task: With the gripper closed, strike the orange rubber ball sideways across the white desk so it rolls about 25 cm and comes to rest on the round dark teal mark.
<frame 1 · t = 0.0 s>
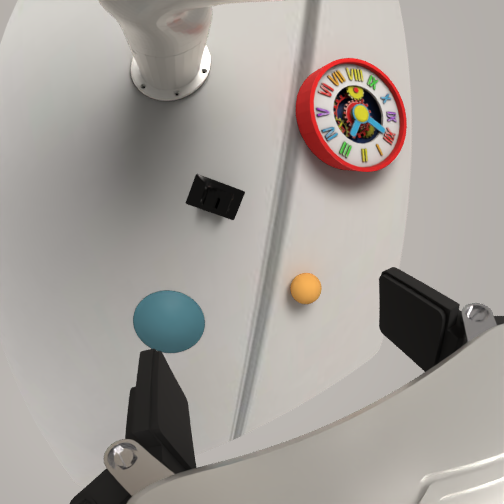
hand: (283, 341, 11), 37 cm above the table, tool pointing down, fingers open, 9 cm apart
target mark: (168, 323, 49), on the table
ball: (305, 288, 51), on the table
toy clock: (345, 116, 46), on the table
black boxy piece: (214, 196, 46), on the table
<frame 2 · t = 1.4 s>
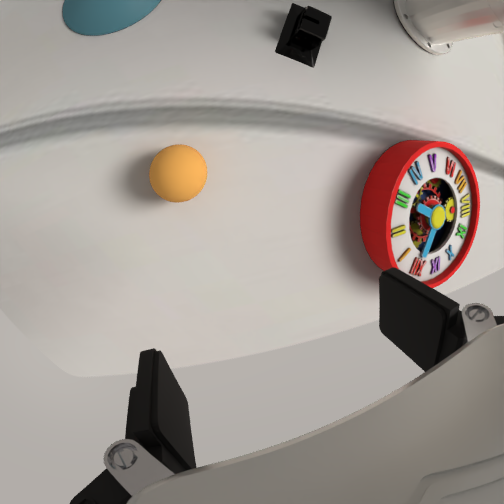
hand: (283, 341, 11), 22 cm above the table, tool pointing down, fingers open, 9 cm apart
ball: (178, 173, 26), on the table
toy clock: (412, 209, 37), on the table
black boxy piece: (300, 36, 27), on the table
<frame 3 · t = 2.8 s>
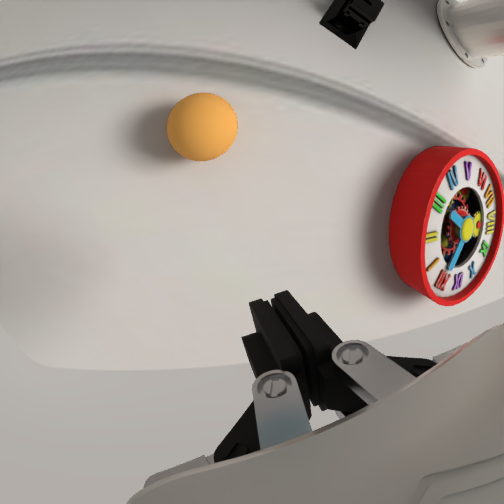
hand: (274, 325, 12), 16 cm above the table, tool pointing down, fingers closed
ball: (202, 126, 21), on the table
toy clock: (439, 219, 33), on the table
black boxy piece: (346, 17, 23), on the table
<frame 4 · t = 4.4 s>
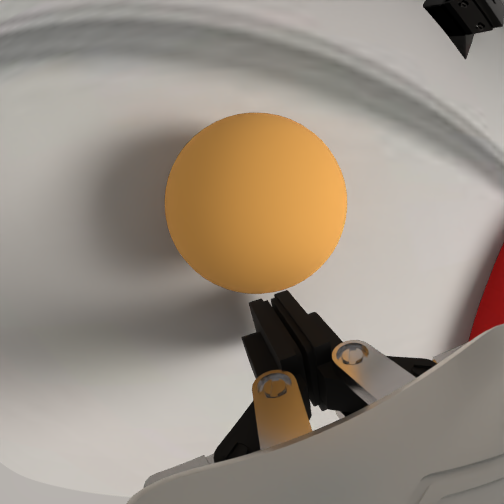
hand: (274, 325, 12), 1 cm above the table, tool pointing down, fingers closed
ball: (255, 202, 9), on the table
black boxy piece: (448, 12, 11), on the table
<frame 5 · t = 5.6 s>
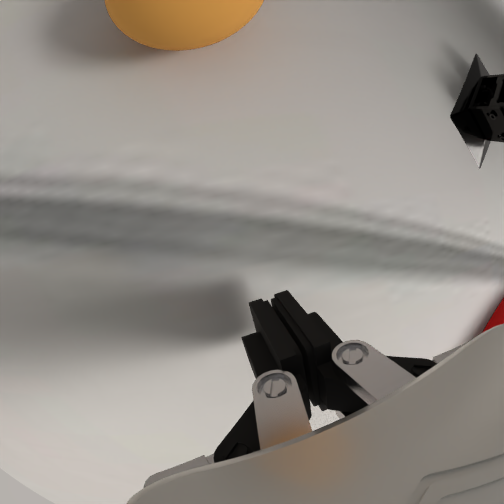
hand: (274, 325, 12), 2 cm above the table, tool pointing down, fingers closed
toy clock: (498, 345, 25), on the table
black boxy piece: (472, 107, 14), on the table
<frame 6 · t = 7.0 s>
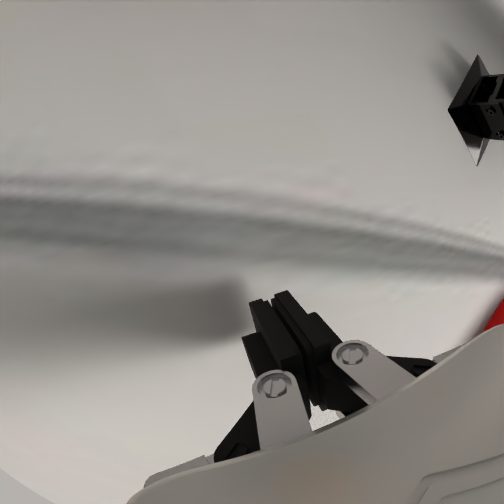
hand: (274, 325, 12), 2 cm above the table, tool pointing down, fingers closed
black boxy piece: (472, 106, 14), on the table
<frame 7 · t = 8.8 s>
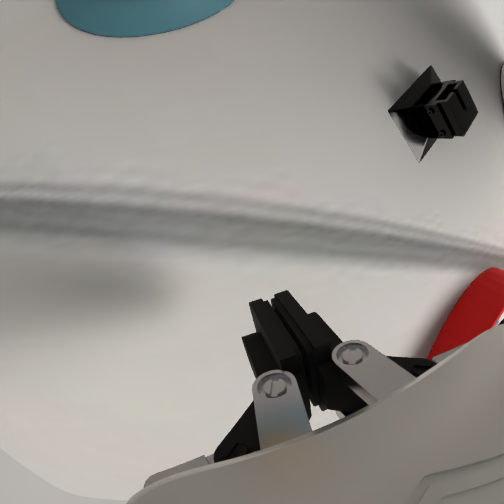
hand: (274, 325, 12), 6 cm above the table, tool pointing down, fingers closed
toy clock: (468, 337, 29), on the table
black boxy piece: (420, 111, 18), on the table
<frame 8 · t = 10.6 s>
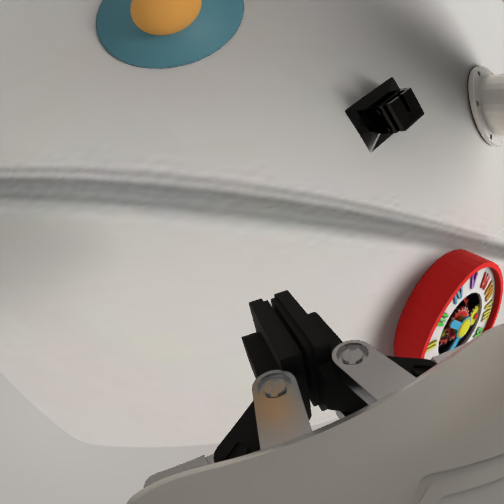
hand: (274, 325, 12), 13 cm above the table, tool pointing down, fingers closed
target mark: (169, 7, 17), on the table
ball: (165, 5, 15), on the table
toy clock: (440, 312, 36), on the table
black boxy piece: (378, 113, 25), on the table
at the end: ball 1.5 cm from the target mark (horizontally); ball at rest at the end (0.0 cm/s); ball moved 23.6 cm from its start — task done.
